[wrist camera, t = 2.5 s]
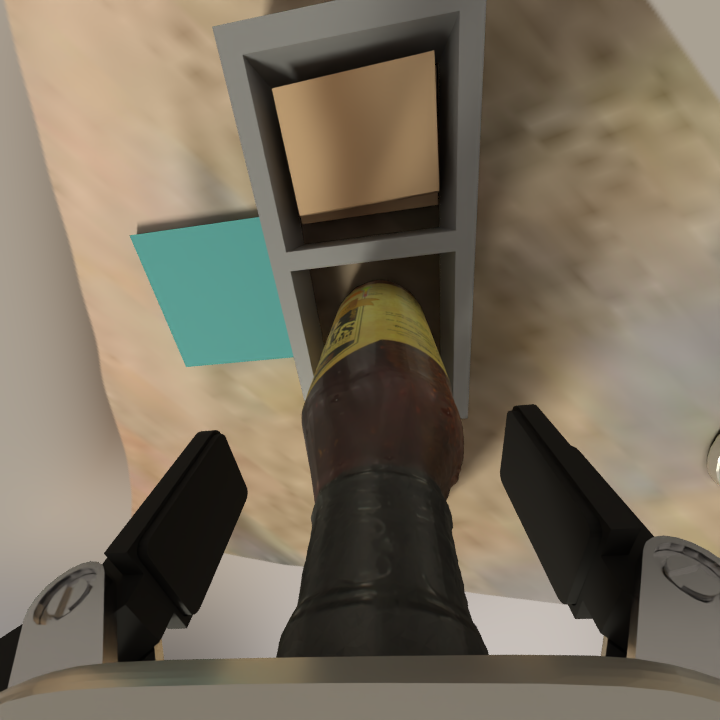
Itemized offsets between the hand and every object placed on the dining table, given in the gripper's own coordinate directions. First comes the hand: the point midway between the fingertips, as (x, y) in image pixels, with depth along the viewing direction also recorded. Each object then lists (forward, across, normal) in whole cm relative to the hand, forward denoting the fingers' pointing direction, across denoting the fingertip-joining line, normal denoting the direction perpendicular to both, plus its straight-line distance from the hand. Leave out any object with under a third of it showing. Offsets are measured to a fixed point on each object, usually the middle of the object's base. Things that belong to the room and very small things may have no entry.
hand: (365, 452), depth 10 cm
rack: (+14, -1, -4) cm, 14 cm away
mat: (+14, +10, -3) cm, 18 cm away
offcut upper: (+12, -1, -10) cm, 16 cm away
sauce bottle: (+14, -1, 0) cm, 14 cm away
